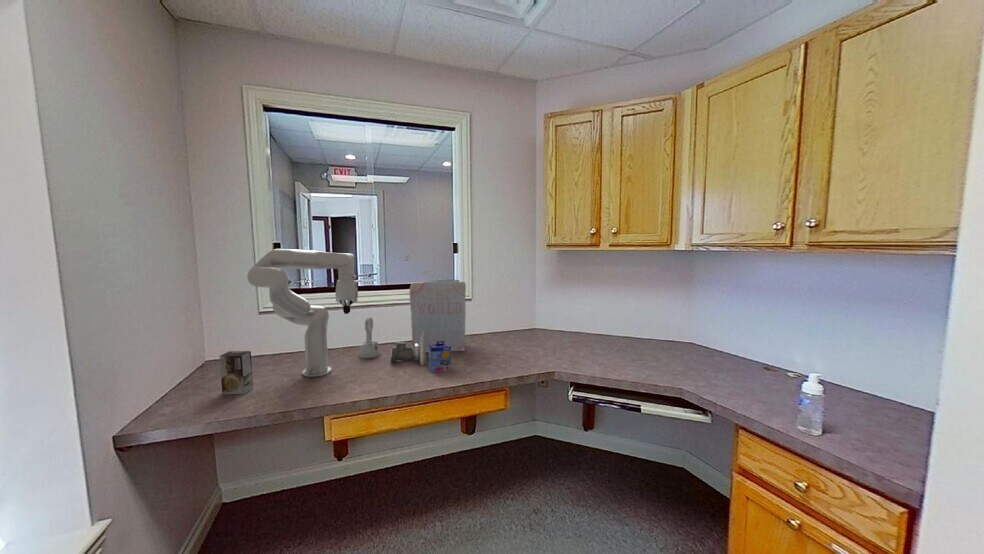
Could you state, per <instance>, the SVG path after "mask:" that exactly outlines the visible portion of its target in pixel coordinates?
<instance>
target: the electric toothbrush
mask: <svg viewBox="0 0 984 554" xmlns="http://www.w3.org/2000/svg"><path fill="white" fill-rule="evenodd" d="M373 329H374V319H373V318H372V317H369V316H368V317H366V318H365V322H364V330H365V332H366V333H365V334H366V340H365V341H364V342H363V344H361V345H359V349H358V351H359V352H358V353H359V355H358V356H359V357H360V358H363V359H371V358H376V357H378V356H379V351H380V350H379V343H378V341H374V340H372V339H373V338H372V336H373V335H372V334H373V332H372V331H373Z"/></svg>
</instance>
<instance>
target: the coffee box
mask: <svg viewBox="0 0 984 554" xmlns="http://www.w3.org/2000/svg"><path fill="white" fill-rule="evenodd" d="M218 357H219V366H220V380H221V394H222V395H245V394H247V393H248V392H250V391H252V390H253V389H254V383H253V381H254V380H253V369H252V368H253V366H252V365H253V364H252V351H251V350H241V351H239V350H235V351H234V350H233V351H232V350H231V351H230V350H229V351H227V352H224V353H223V354H220V355H219V356H218Z"/></svg>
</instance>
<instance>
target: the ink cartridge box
mask: <svg viewBox="0 0 984 554" xmlns="http://www.w3.org/2000/svg"><path fill="white" fill-rule="evenodd" d="M440 342H442V343H440ZM438 343H440V344H438ZM451 352H452V351H451V346H450V345H449V344H448V343H445V344H444V341H439V342H437V344H433V345H429V352H428V356H429V357H428V369H429V372H430V373H438V372H447V371H451V356H452V355H451V354H452V353H451Z"/></svg>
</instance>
